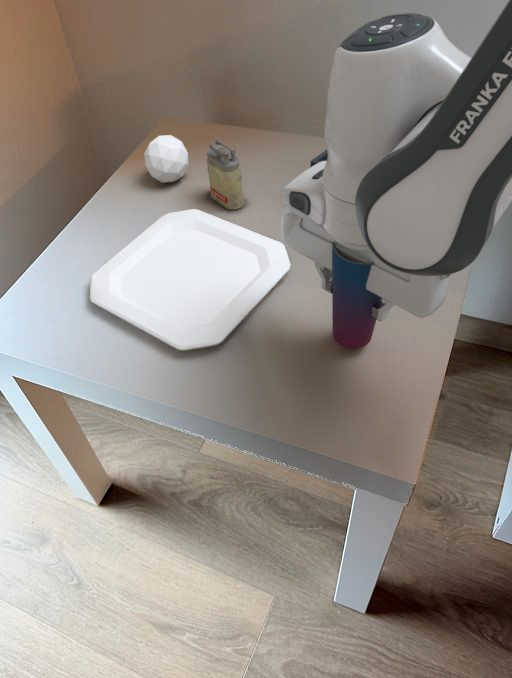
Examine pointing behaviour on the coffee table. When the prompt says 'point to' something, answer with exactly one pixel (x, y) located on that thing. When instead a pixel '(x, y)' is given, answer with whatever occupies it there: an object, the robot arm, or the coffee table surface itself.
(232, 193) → the lighter
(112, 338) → the coffee table surface
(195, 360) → the coffee table surface
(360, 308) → the cup
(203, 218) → the plate
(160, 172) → the geometric ball
